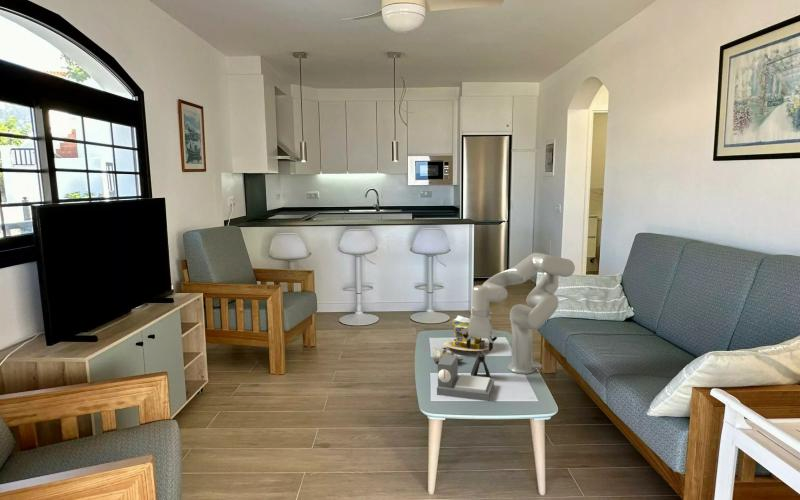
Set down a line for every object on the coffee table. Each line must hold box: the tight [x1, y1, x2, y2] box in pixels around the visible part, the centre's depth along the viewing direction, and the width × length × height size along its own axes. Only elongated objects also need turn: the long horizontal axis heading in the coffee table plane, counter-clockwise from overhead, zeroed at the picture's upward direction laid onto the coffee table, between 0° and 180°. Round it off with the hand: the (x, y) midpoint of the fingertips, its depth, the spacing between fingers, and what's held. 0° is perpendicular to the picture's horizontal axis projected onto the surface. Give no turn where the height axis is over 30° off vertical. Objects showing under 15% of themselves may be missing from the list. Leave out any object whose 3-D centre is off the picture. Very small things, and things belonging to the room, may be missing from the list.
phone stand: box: [470, 350, 492, 379], centre depth 217 cm, size 9×6×12 cm, turn 86°
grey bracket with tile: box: [436, 354, 495, 402], centre depth 205 cm, size 22×16×13 cm
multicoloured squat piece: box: [442, 315, 489, 352], centre depth 256 cm, size 25×25×17 cm
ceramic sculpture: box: [432, 346, 464, 363], centre depth 236 cm, size 11×9×15 cm
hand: (479, 349), depth 216 cm, fingers open, 9 cm apart
